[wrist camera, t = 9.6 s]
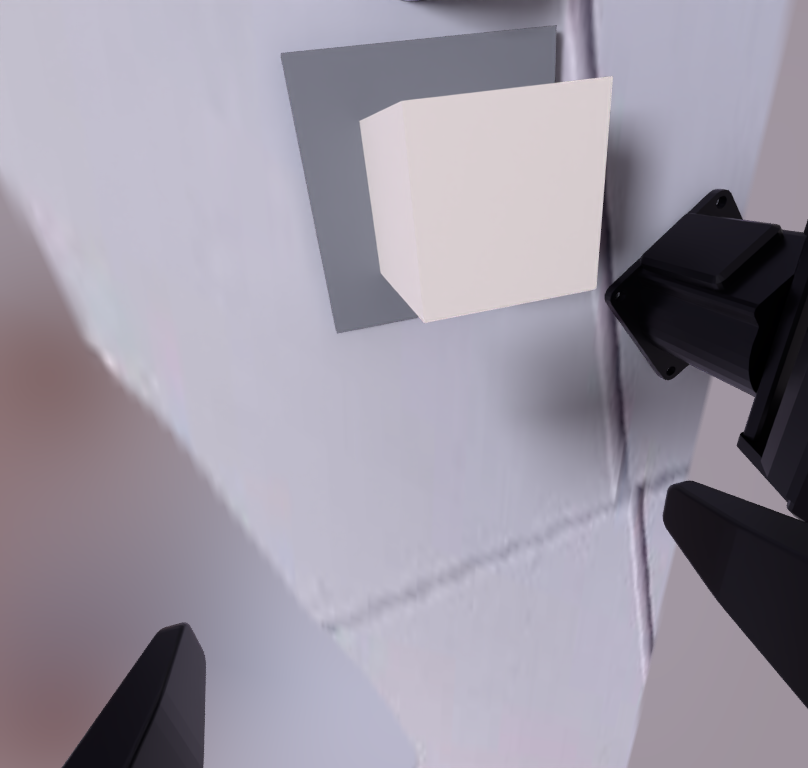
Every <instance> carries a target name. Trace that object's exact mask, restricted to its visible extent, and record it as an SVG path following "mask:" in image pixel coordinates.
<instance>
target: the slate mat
mask: <svg viewBox="0 0 808 768" xmlns="http://www.w3.org/2000/svg"><path fill="white" fill-rule="evenodd" d="M556 26H557V25H554V26H544V27H534V28H524V29H514V30H504V31H494V32H484V33H475V34H465V35H455V36H445V37H435V38H425V39H415V40H405V41H395V42H386V43H376V44H366V45H356V46H346V47H336V48H326V49H316V50H306V51H297V52H287V53H281V60H282V65H283V70H284V75H285V80H286V84H287V89H288V94H289V99H290V104H291V109H292V114H293V119H294V124H295V129H296V134H297V139H298V144H299V149H300V154H301V159H302V164H303V169H304V174H305V179H306V184H307V189H308V194H309V199H310V204H311V209H312V214H313V219H314V224H315V229H316V233H317V238H318V243H319V248H320V253H321V258H322V263H323V268H324V273H325V278H326V283H327V288H328V293H329V298H330V303H331V308H332V313H333V318H334V323H335V328H336V331H337V333H342V332H347V331H352V330H357V329H362V328H367V327H372V326H377V325H382V324H387V323H392V322H397V321H402V320H407V319H412V318H418V315H417V314H416V313H415V312H414V311H413V310H412V309H411V307H410V306H409V305H408V304H407V303H406V302H405V301H404V299H403V298H402V297H401V296H400V295H399V294H398V293H397V291H396V290H395V289H394V288H393V287H392V286H391V285H390V283H389V282H388V281H387V280H386V279H385V278H384V276H383V275H382V274H381V272H380V265H379V258H378V251H377V243H376V236H375V229H374V222H373V215H372V208H371V201H370V194H369V186H368V179H367V172H366V165H365V158H364V151H363V144H362V137H361V129H360V122H359V121H360V120H363V119H365V118H367V117H369V116H371V115H373V114H375V113H377V112H379V111H381V110H384V109H386V108H388V107H390V106H392V105H394V104H396V103H398V102H400V101H405V100H413V99H422V98H431V97H439V96H448V95H456V94H465V93H473V92H482V91H490V90H499V89H508V88H516V87H525V86H533V85H542V84H550V83H555V64H556Z"/></svg>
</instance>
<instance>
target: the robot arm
mask: <svg viewBox="0 0 808 768" xmlns="http://www.w3.org/2000/svg"><path fill="white" fill-rule="evenodd" d="M718 199H719V202H718V204H717V205H716V203H717V200H718ZM618 292H620V294H619V297H618V298H617V299H615V297H616V295H617V293H618ZM605 301H606V303H607V305H608V306H609V307H610V309H611V310H612V312H613V313H614V315H615V316H616V317H617V319H618V320H619V322H620V323H621V324H622V326H623V327H624V329H625V330H626V331H627V333H628V334H629V336H630V337H631V338H632V340H633V341H634V343H635V344H636V346H637V347H638V348H639V350H640V351H641V353H642V354H643V355H644V357H645V358H646V360H647V361H648V362H649V364H650V365H651V367H652V368H653V370H654V371H655V372H656V374H657V375H658V376H659V377H661V378H663V379H665V380H670V379H673V378H674V377H675V376H677V375H678V374H679V373H680V372H681V371H682V370H683V369H685V368H686V367H687V366H688V365H689V364H690V365H692V366H694V367H696V368H698V369H700V370H702V371H704V372H706V373H708V374H710V375H712V376H714V377H716V378H718V379H720V380H722V381H724V382H726V383H728V384H730V385H732V386H734V387H736V388H738V389H740V390H742V391H744V392H746V393H748V394H750V395H752V396H754V397H755V399H754V402H753V405H752V408H751V411H750V415H749V417H748V421H747V424H746V427H745V430H744V432H742V433H741V434H740V437H739V440H738V443H737V447H738V448H739V449H740V450H741V451H742V453H743V454H744V455H745V456H746V457H747V458H748V459H749V460H750V461H751V462H752V464H753V465H754V466H755V467H756V468H757V469H758V470H759V471H760V472H761V474H762V475H763V476H764V477H765V478H766V479H767V480H768V481H769V482H770V484H771V485H772V486H773V487H774V488H775V489H776V490H777V491H778V492H779V493H780V495H781V496H782V497H783V498H784V499H785V500H786V501H787V502H788V503H787V509H788V510H789V511H790V512H791V513H792V514H793V515H794V516H795V517H796V518H798V519H799V520H798V519H795V518H793V517H790V516H787V515H785V514H782V513H779V512H776V511H774V510H771V509H768V508H765V507H763V506H760V505H757V504H755V503H752V502H749V501H746V500H744V499H741V498H738V497H735V496H733V495H730V494H727V493H725V492H722V491H719V490H716V489H714V488H711V487H708V486H706V485H703V484H700V483H697V482H694V481H684V482H680V483H677V484H673V485H671V486H670V487H669V488H668V490H667V495H666V500H665V506H664V511H663V522H664V525H665V527H666V529H667V530H668V532H669V533H670V535H671V536H672V538H673V539H674V540H675V542H676V543H677V545H678V546H679V547H680V549H681V550H682V552H683V553H684V555H685V556H686V558H687V559H688V560H689V562H690V563H691V565H692V566H693V567H694V569H695V570H696V572H697V573H698V574H699V576H700V577H701V579H702V580H703V582H704V583H705V585H706V586H707V587H708V589H709V590H710V592H711V593H712V594H713V595H714V597H715V598H716V600H717V601H718V602H719V603H720V605H721V606H722V607H723V608H724V610H725V611H726V612H727V613H728V614H729V616H730V617H731V618H732V619H733V620H734V622H735V623H736V624H737V625H738V626H739V628H741V630H742V631H743V632H744V633H745V635H746V636H747V637H748V638H749V639H750V641H751V642H752V643H753V644H754V645H755V646H756V648H757V649H758V650H759V651H760V653H761V654H762V655H763V656H764V657H765V658H766V660H767V661H768V662H769V663H770V664H771V666H772V667H773V668H774V669H775V670H776V671H777V673H778V674H779V675H780V676H781V677H782V678H783V680H784V681H785V682H786V683H787V685H788V686H789V687H790V688H791V689H792V691H793V692H794V693H795V694H796V695H797V696H798V698H799V699H800V700H801V701H802V702H803V704H804V705H805V706H806V707H807V708H808V221H807V224H806V227H805V230H804V233H803V232H795V231H788V230H782V229H781V227H780V225H777V224H771V223H763V222H756V221H748V220H743V219H742V217H741V214H740V212H739V210H738V208H737V205H736V203H735V201H734V199H733V196H732V194H731V193H730V191H729V190H725V189H715V190H712V191H711V192H710V193H708V194H707V195H706V196H705V197H704V198H703V199H702V200H701V201H700V202H699V203H698V204H697V205H696V206H695V207H694V208H693V209H692V210H690V211H689V212H688V213H687V214H686V215H684V216H683V217H682V218H681V219H680V220H679V221H678V222H677V223H676V224H675V225H674V226H673V227H672V228H671V229H670V230H669V231H667V232H666V233H665V234H664V235H663V236H662V237H661V238H660V239H659V240H658V241H657V242H656V243H655V244H654V245H653V246H652V247H651V248H649V249H648V250H647V251H646V252H645V253H644V254H643V255H642V257H641V258H640V259H638V260H637V261H636V262H635V263H634V264H633V265H632V266H631V267H630V268H629V269H628V270H627V271H626V272H625V273H624V274H623V275H622V276H620V277H619V278H618V279H617V280H616V281H615V282H614V283H613V284H612V285H611V286H610V287H609V288H608V289H607V291H606V293H605ZM668 368H669V369H668ZM205 685H206V660H205V655H204V651H203V649H202V647H201V645H200V643H199V642H198V640H197V638H196V636H195V634H194V632H193V630H192V628H191V627H190V625H189V624H188V623H186V622H184V623H179V624H175V625H172V626H168V627H165V628H162V629H161V630H160V631H159V632H157V634H156V635H155V636H154V638H153V639H152V640H151V642H150V643H149V645H148V646H147V648H146V649H145V650H144V652H143V653H142V655H141V656H140V658H139V659H138V661H137V662H136V663H135V665H134V666H133V667H132V669H131V670H130V672H129V673H128V674H127V676H126V677H125V679H124V680H123V682H122V683H121V685H120V686H119V687H118V689H117V690H116V692H115V693H114V694H113V696H112V697H111V699H110V700H109V702H108V703H107V704H106V706H105V707H104V709H103V710H102V711H101V713H100V714H99V716H98V717H97V718H96V720H95V721H94V723H93V724H92V726H91V727H90V728H89V730H88V731H87V733H86V734H85V736H84V737H83V738H82V740H81V741H80V743H79V744H78V745H77V747H76V748H75V750H74V751H73V753H72V754H71V755H70V757H69V758H68V760H67V761H66V762H65V764H64V765H63V767H62V768H203V761H204V727H205Z"/></svg>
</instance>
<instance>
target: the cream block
mask: <svg viewBox="0 0 808 768" xmlns="http://www.w3.org/2000/svg"><path fill="white" fill-rule="evenodd" d="M612 81H613V76H610V77H602V78H593V79H585V80H576V81H567V82H559V83H550V84H542V85H533V86H525V87H516V88H508V89H499V90H490V91H482V92H473V93H465V94H456V95H448V96H439V97H431V98H422V99H413V100H405V101H400V102H398V103H396V104H394V105H392V106H390V107H388V108H386V109H384V110H381V111H379V112H377V113H375V114H373V115H371V116H369V117H367V118H365V119H363V120H360V121H359V122H360V129H361V137H362V144H363V151H364V158H365V165H366V172H367V179H368V186H369V194H370V201H371V208H372V215H373V222H374V229H375V236H376V243H377V251H378V258H379V265H380V272H381V274H382V275H383V276H384V278H385V279H386V280H387V281H388V282H389V283H390V285H391V286H392V287H393V288H394V289H395V290H396V291H397V293H398V294H399V295H400V296H401V297H402V298H403V299H404V301H405V302H406V303H407V304H408V305H409V306H410V307H411V309H412V310H413V311H414V312H415V313H416V314H417V315H418V317H419V318H420V319H421V320H422V321H423V322H424V323H427V322H432V321H437V320H442V319H447V318H453V317H458V316H463V315H468V314H473V313H478V312H483V311H488V310H493V309H498V308H504V307H509V306H514V305H519V304H524V303H529V302H534V301H539V300H544V299H549V298H554V297H560V296H565V295H570V294H575V293H580V292H585V291H590V290H595V289H596V285H597V273H598V260H599V247H600V234H601V222H602V209H603V196H604V183H605V171H606V158H607V145H608V132H609V120H610V107H611V94H612Z"/></svg>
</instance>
